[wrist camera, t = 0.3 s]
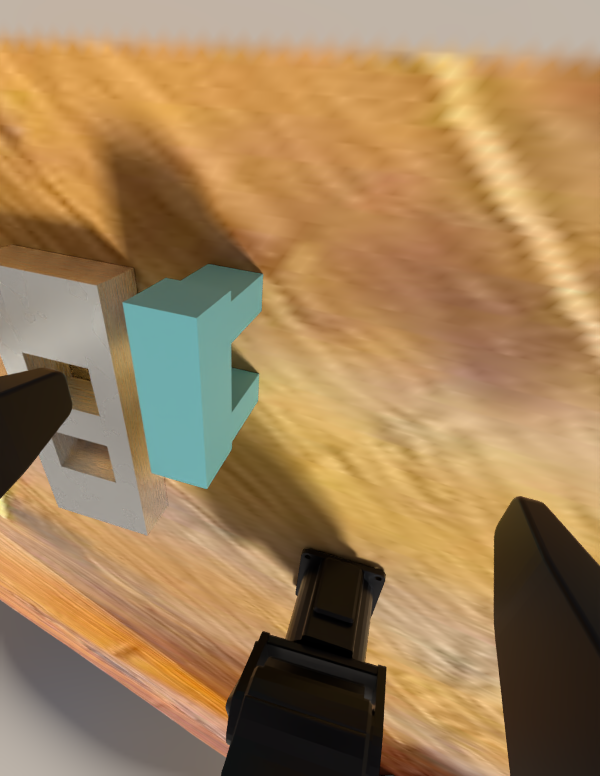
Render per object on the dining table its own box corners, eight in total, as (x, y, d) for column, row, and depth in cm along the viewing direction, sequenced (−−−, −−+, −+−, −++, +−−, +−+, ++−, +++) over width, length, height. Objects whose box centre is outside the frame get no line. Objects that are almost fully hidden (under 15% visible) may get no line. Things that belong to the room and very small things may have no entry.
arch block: (257, 407, 25) (207, 489, 19) (213, 396, 26) (151, 473, 20) (263, 263, 20) (196, 318, 14) (207, 253, 20) (122, 302, 15)
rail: (168, 505, 33) (147, 535, 31) (84, 480, 35) (58, 507, 32) (133, 268, 22) (96, 285, 20) (11, 244, 23) (-37, 258, 21)
